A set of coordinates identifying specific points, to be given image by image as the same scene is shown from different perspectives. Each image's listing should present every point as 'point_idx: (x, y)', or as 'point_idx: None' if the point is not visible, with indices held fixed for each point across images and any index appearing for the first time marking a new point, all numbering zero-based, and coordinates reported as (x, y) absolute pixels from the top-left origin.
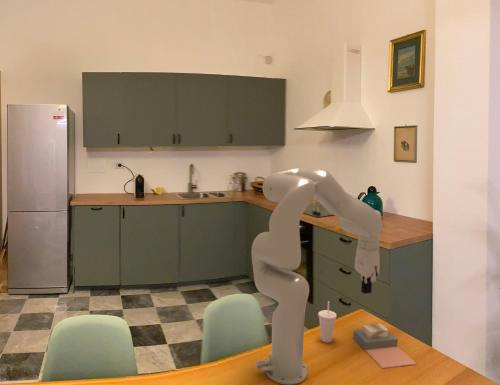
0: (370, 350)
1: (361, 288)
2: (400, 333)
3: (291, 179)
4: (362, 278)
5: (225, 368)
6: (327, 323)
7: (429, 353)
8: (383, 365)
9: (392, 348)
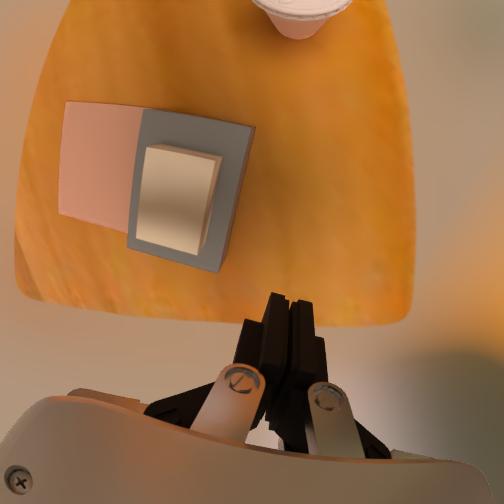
0: None
1: (310, 318)
2: (212, 316)
3: None
4: (315, 411)
5: None
6: None
7: (96, 290)
8: (71, 111)
9: None
